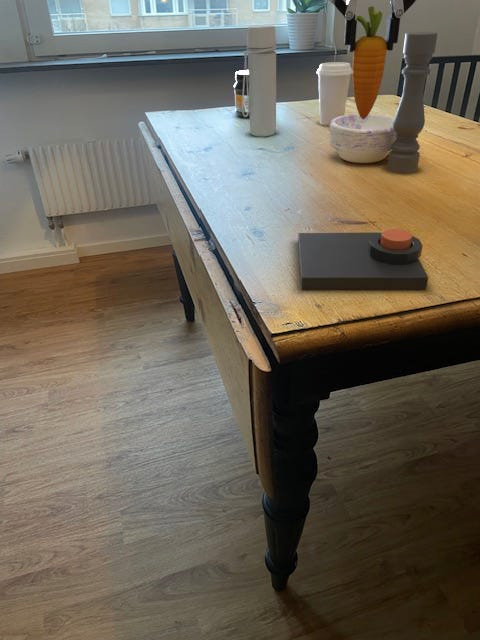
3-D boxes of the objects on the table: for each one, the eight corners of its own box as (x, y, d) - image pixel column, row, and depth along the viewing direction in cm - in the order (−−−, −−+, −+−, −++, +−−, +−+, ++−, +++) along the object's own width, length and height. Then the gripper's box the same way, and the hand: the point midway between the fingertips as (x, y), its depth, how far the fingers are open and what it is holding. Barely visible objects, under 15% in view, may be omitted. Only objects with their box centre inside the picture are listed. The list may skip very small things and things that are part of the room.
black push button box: (406, 243, 76) (410, 221, 74) (429, 290, 65) (434, 266, 63) (297, 244, 77) (298, 222, 75) (301, 290, 66) (302, 266, 64)
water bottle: (271, 129, 138) (271, 24, 124) (280, 136, 132) (281, 26, 118) (239, 132, 136) (235, 26, 122) (247, 139, 130) (243, 28, 116)
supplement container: (249, 120, 148) (247, 76, 141) (228, 115, 155) (226, 72, 149) (276, 114, 153) (276, 71, 146) (255, 109, 160) (254, 68, 154)
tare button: (406, 238, 70) (408, 228, 70) (413, 251, 67) (415, 240, 66) (377, 239, 71) (379, 228, 70) (382, 251, 67) (384, 241, 67)
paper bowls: (379, 172, 104) (384, 132, 100) (316, 161, 112) (317, 124, 108) (407, 153, 114) (413, 117, 110) (347, 145, 122) (350, 110, 118)
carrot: (373, 124, 76) (385, 7, 67) (342, 121, 78) (350, 7, 69) (383, 117, 79) (396, 5, 71) (353, 114, 81) (362, 6, 73)
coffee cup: (311, 126, 139) (313, 66, 131) (317, 118, 147) (320, 61, 138) (345, 127, 137) (350, 66, 128) (350, 119, 144) (355, 61, 136)
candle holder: (399, 163, 109) (418, 31, 95) (423, 169, 105) (446, 32, 91) (380, 169, 106) (396, 33, 92) (404, 176, 102) (425, 35, 88)
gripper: (317, -114, 61) (312, 55, 71) (462, -124, 59) (435, 51, 69) (315, -105, 67) (310, 49, 77) (446, -114, 65) (423, 45, 75)
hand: (369, 48), depth 73 cm, fingers closed on carrot, 4 cm apart
